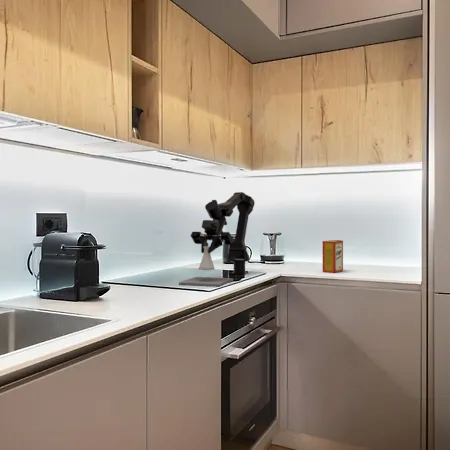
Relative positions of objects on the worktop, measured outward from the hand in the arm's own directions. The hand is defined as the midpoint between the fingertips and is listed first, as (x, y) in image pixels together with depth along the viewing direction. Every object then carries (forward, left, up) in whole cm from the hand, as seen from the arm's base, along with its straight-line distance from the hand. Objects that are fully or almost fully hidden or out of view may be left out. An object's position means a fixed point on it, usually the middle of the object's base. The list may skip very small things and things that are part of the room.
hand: (205, 252), depth 201 cm
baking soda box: (-54, +47, -13) cm, 73 cm away
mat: (-1, 0, -13) cm, 13 cm away
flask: (-1, 0, -8) cm, 8 cm away
